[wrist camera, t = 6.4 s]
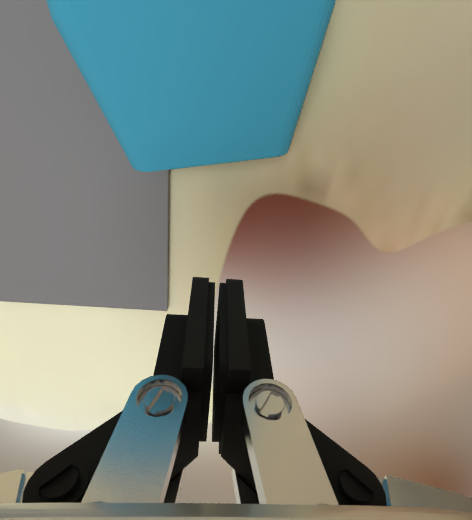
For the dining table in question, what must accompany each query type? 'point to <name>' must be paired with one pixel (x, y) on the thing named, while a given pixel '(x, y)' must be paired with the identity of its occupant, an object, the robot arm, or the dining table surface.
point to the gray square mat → (70, 183)
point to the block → (196, 73)
